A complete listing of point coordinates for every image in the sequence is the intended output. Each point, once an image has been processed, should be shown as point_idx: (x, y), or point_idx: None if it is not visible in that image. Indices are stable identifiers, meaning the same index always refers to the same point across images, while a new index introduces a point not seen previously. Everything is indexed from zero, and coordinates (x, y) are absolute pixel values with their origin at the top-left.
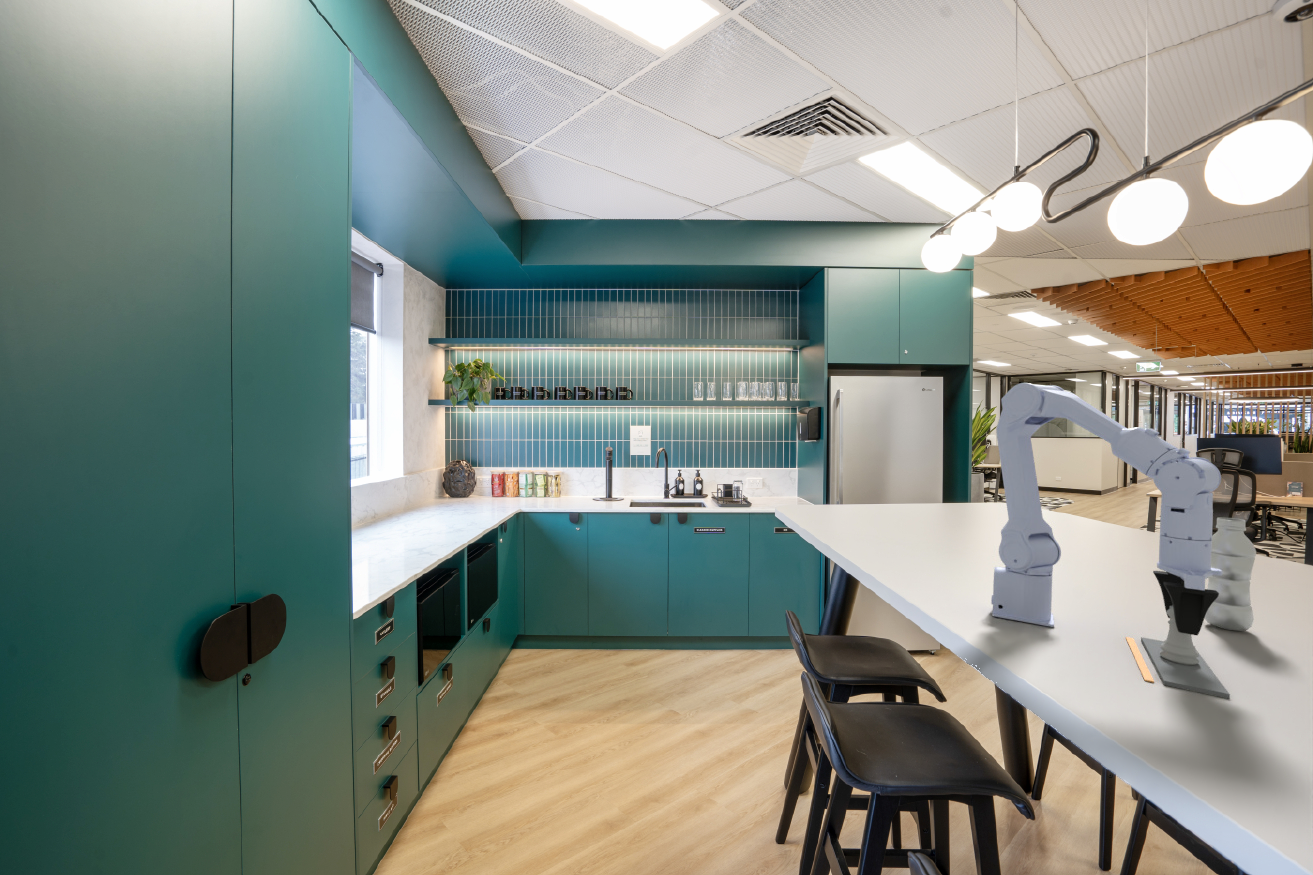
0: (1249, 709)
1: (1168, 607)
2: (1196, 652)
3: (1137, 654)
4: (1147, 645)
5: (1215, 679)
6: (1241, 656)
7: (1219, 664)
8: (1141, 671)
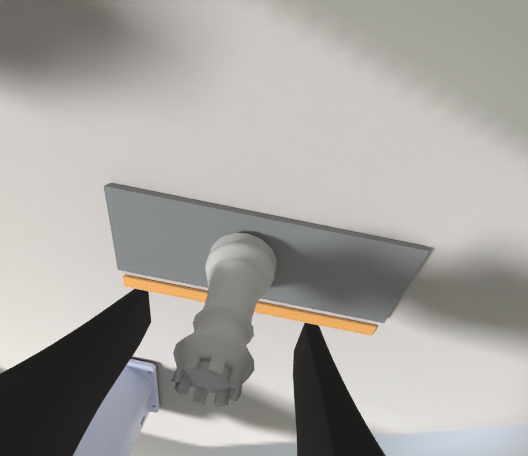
0: (474, 235)
1: (127, 354)
2: (255, 255)
3: None
4: (174, 278)
5: (344, 239)
6: (67, 68)
7: (192, 168)
8: (331, 326)
